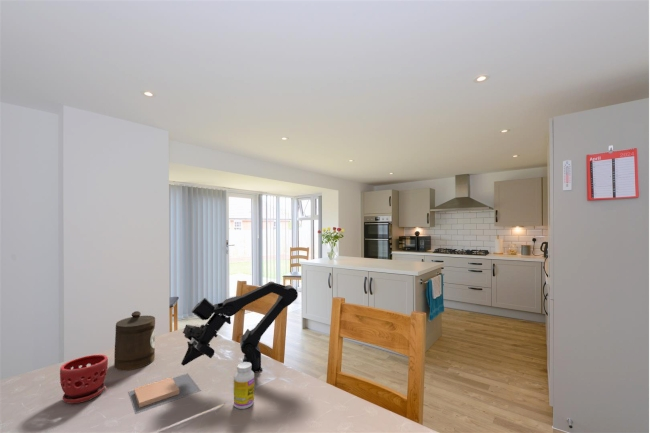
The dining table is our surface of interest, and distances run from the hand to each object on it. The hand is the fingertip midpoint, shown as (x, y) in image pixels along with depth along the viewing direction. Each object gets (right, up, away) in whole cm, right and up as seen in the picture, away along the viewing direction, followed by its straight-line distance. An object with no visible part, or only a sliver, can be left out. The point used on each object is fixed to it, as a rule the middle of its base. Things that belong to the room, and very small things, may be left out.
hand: (182, 364), depth 110 cm
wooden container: (-30, -9, +20) cm, 37 cm away
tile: (-2, -7, -2) cm, 7 cm away
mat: (-4, -8, -4) cm, 10 cm away
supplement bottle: (+26, -8, -10) cm, 29 cm away
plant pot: (-32, -8, -5) cm, 33 cm away
